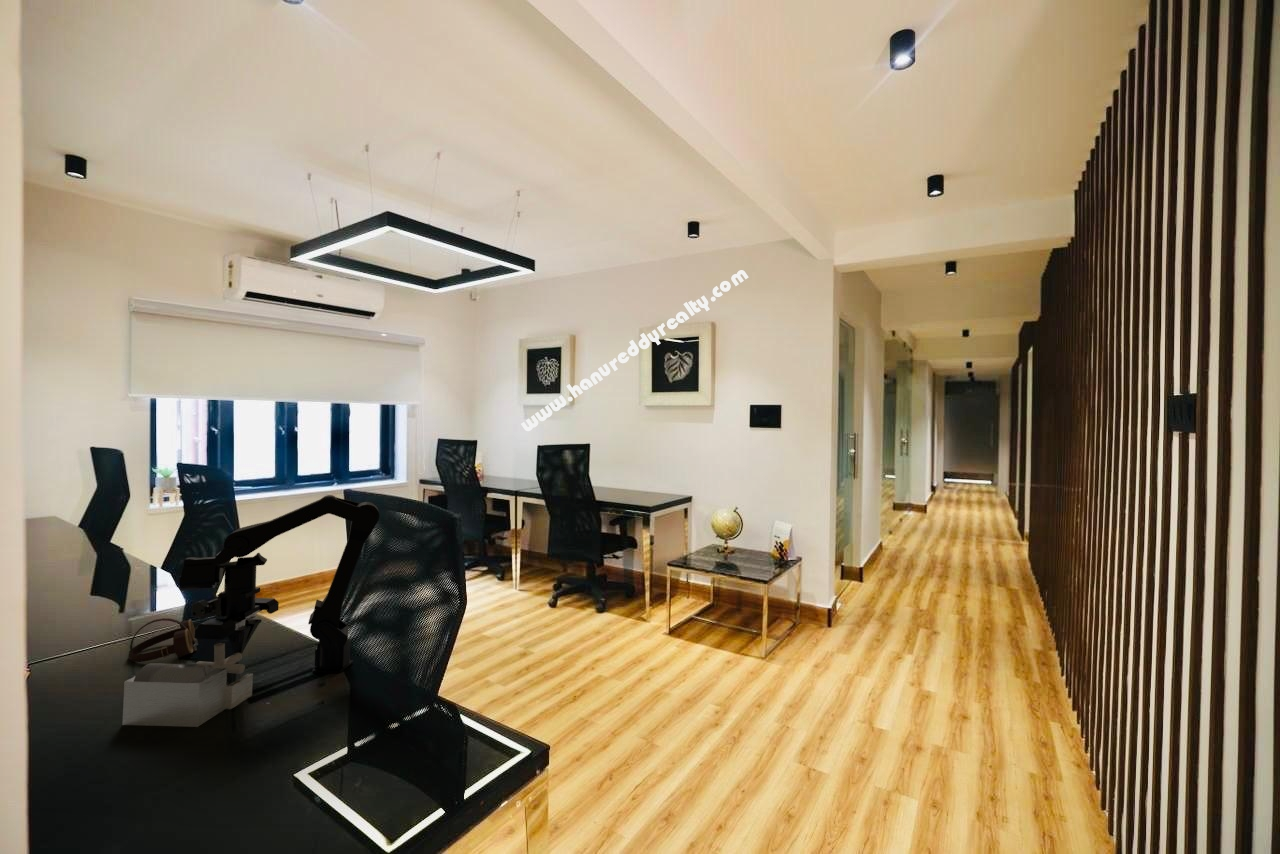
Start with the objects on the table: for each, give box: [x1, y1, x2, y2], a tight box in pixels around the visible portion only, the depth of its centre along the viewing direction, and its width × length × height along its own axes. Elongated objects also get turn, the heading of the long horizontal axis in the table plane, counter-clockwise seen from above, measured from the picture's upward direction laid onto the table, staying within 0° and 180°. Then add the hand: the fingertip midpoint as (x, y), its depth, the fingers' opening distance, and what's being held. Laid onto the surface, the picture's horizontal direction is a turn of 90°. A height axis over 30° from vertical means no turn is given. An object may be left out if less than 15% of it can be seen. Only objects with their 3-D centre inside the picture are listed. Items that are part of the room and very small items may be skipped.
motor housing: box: [121, 662, 254, 728], centre depth 111 cm, size 17×13×10 cm
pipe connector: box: [195, 642, 246, 675], centre depth 119 cm, size 10×10×10 cm
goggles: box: [127, 617, 199, 663], centre depth 139 cm, size 15×13×10 cm
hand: (238, 655), depth 125 cm, fingers closed
